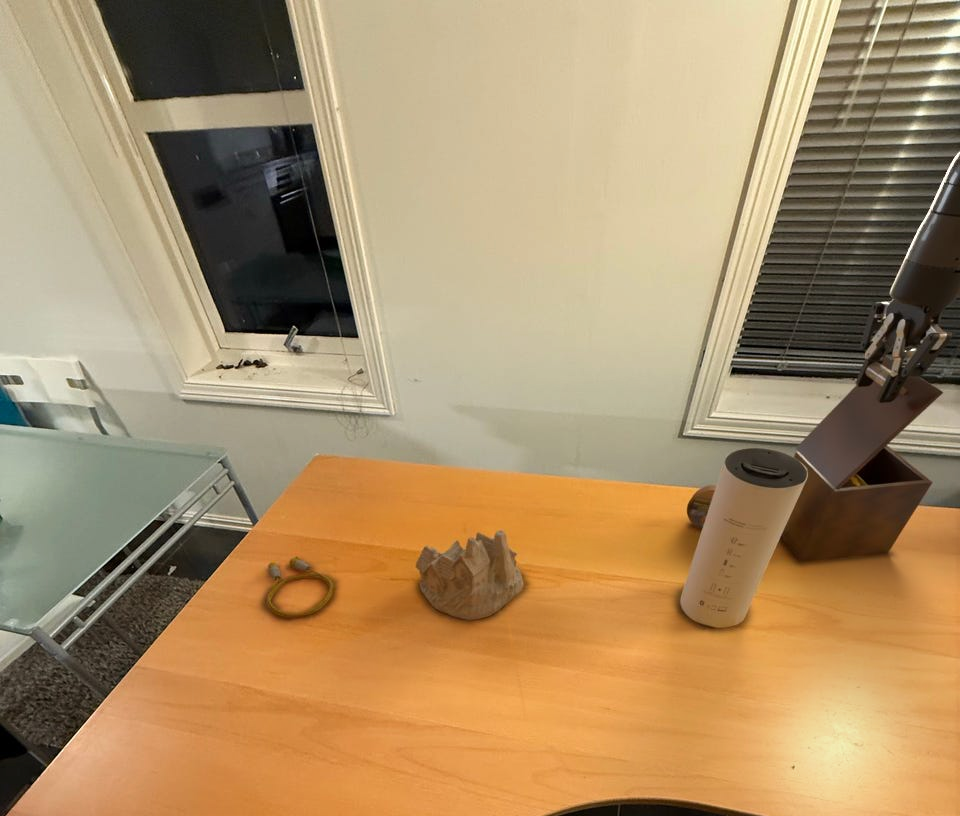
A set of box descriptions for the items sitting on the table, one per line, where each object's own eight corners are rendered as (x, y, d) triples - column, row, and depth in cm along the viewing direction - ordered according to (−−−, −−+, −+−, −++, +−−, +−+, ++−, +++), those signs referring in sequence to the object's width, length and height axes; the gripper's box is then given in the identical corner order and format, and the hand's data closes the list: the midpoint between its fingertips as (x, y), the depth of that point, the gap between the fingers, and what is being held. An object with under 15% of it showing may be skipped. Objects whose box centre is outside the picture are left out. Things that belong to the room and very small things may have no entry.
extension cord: (335, 558, 104) (333, 549, 102) (332, 614, 93) (329, 606, 92) (271, 566, 103) (267, 558, 101) (260, 624, 92) (256, 616, 91)
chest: (847, 513, 105) (884, 443, 94) (887, 554, 96) (933, 482, 86) (767, 521, 104) (795, 451, 94) (800, 563, 96) (835, 491, 85)
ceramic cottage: (536, 586, 95) (531, 513, 84) (463, 635, 89) (448, 562, 78) (480, 550, 104) (469, 480, 93) (411, 592, 98) (390, 522, 87)
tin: (682, 525, 105) (692, 486, 99) (686, 516, 107) (696, 478, 101) (764, 544, 100) (781, 505, 94) (767, 535, 102) (783, 495, 95)
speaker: (756, 603, 90) (821, 457, 70) (731, 640, 84) (794, 494, 65) (695, 578, 95) (740, 436, 75) (668, 612, 89) (709, 468, 70)
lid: (887, 357, 83) (866, 341, 81) (943, 392, 75) (921, 375, 72) (798, 450, 94) (777, 437, 92) (838, 490, 85) (816, 477, 83)
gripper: (878, 244, 73) (823, 375, 85) (951, 274, 63) (877, 417, 76) (932, 241, 73) (869, 372, 86) (1013, 270, 63) (928, 413, 76)
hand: (873, 392), depth 80 cm, fingers closed on lid, 5 cm apart
